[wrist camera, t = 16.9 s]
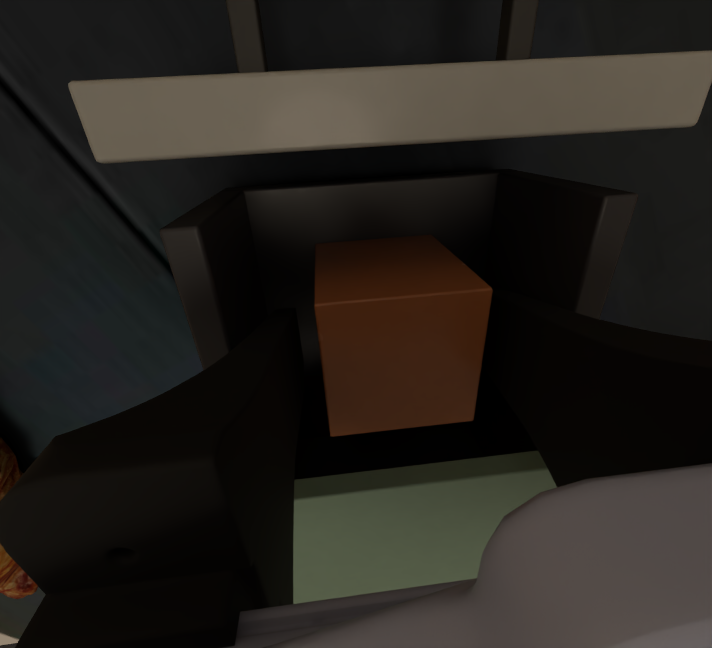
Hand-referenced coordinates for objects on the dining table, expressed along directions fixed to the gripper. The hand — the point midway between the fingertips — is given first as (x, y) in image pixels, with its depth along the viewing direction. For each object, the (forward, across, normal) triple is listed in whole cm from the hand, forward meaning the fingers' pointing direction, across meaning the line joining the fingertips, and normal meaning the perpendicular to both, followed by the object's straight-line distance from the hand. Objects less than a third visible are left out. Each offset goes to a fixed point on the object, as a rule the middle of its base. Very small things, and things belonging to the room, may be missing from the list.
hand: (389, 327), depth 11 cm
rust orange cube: (+3, 0, 0) cm, 3 cm away
